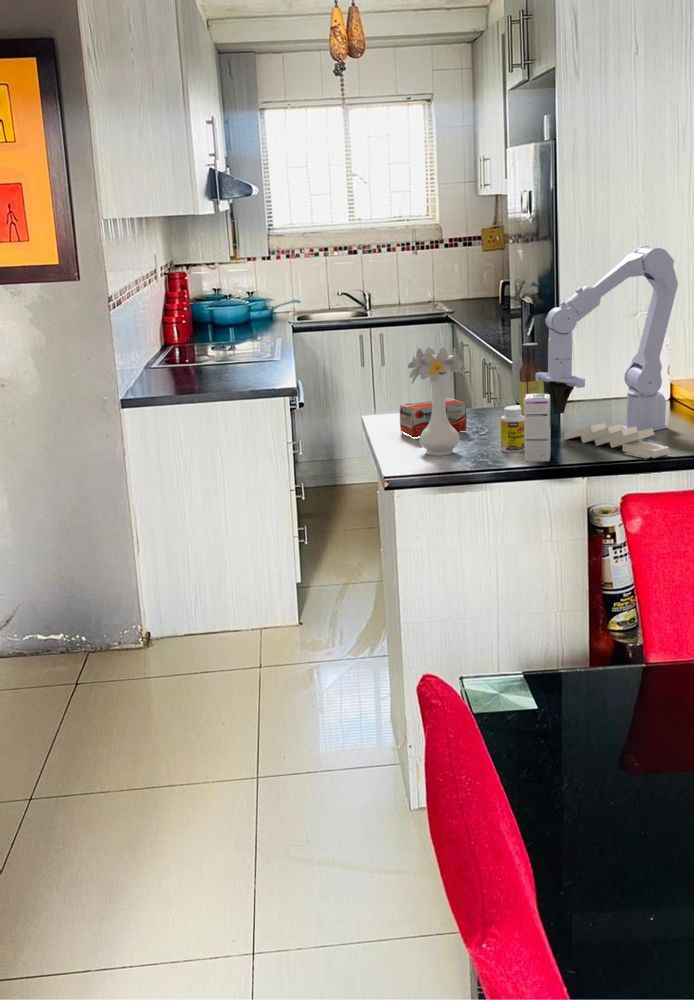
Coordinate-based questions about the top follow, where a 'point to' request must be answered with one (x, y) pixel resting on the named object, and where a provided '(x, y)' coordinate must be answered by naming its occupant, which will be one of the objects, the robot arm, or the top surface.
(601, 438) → the domino
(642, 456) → the felt pad
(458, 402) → the medicine box
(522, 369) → the sauce bottle
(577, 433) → the domino
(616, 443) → the domino
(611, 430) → the domino
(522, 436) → the supplement bottle
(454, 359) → the flower vase
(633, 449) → the domino
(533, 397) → the syrup box
